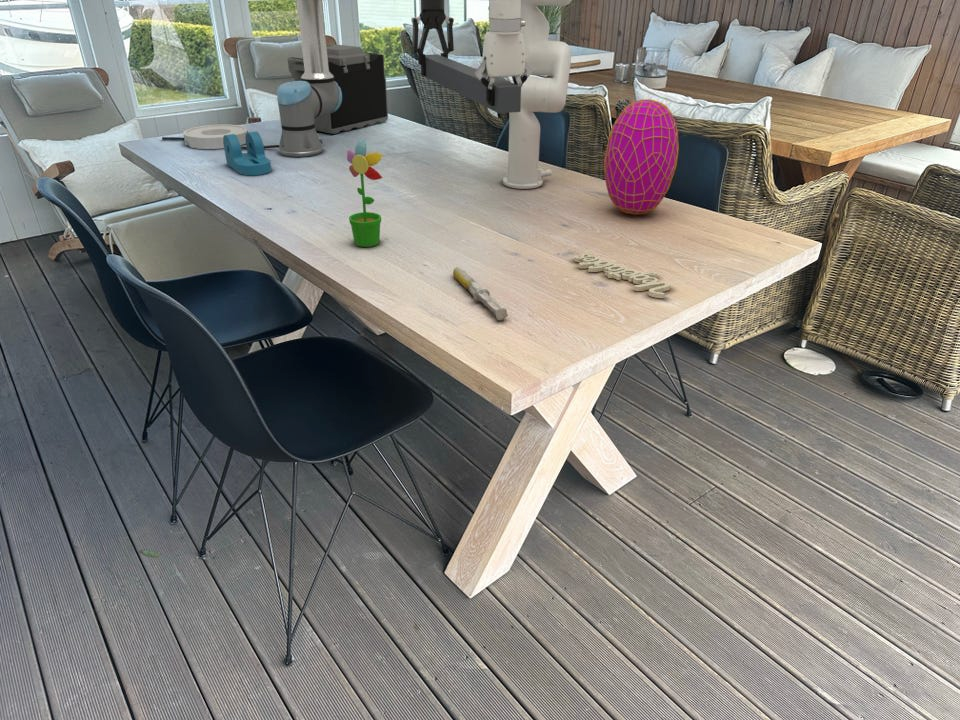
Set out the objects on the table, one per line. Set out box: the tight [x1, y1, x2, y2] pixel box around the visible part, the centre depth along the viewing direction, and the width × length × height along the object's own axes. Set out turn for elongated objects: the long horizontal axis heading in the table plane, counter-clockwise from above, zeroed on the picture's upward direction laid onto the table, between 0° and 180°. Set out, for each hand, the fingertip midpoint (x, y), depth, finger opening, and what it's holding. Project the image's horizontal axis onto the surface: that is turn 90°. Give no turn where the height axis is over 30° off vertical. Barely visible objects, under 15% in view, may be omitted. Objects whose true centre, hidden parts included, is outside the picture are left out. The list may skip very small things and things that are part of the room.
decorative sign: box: [574, 252, 671, 299], centre depth 155 cm, size 26×1×10 cm
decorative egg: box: [603, 98, 680, 215], centre depth 186 cm, size 19×19×30 cm
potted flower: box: [346, 138, 383, 248], centre depth 165 cm, size 9×8×25 cm
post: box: [424, 53, 521, 114], centre depth 200 cm, size 72×6×6 cm, turn 20°
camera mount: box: [223, 131, 272, 176], centre depth 226 cm, size 18×10×10 cm, turn 35°
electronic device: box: [287, 43, 389, 135], centre depth 281 cm, size 37×22×30 cm, turn 144°
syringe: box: [452, 266, 509, 321], centre depth 145 cm, size 25×4×3 cm, turn 21°
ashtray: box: [182, 123, 249, 150], centre depth 260 cm, size 23×23×4 cm
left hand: (433, 74), depth 227 cm, fingers closed on post, 6 cm apart
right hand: (503, 103), depth 176 cm, fingers closed on post, 6 cm apart
